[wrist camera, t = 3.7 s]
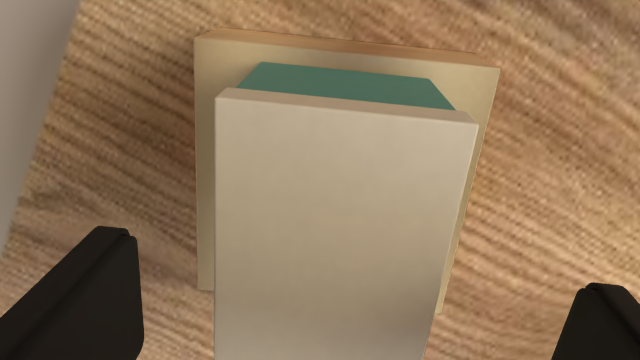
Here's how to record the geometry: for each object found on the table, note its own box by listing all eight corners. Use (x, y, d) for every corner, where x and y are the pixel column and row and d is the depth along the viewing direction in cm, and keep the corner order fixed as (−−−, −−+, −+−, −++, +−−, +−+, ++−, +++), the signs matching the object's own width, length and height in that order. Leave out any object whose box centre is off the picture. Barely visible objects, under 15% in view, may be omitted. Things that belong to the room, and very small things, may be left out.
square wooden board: (217, 246, 20) (197, 290, 17) (218, 26, 16) (192, 36, 13) (427, 268, 20) (441, 315, 17) (475, 53, 16) (502, 68, 13)
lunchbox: (391, 301, 17) (409, 422, 12) (248, 286, 17) (213, 401, 12) (433, 75, 14) (481, 124, 9) (257, 57, 14) (213, 97, 9)
